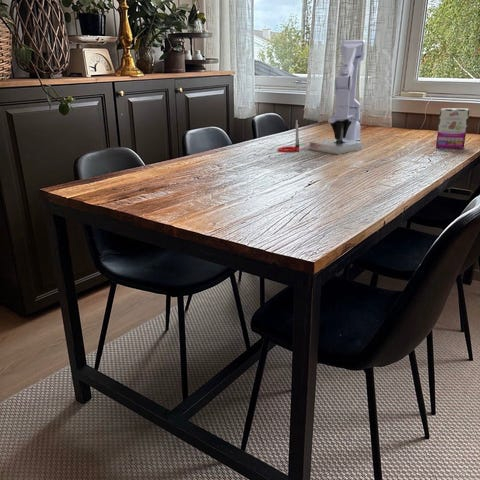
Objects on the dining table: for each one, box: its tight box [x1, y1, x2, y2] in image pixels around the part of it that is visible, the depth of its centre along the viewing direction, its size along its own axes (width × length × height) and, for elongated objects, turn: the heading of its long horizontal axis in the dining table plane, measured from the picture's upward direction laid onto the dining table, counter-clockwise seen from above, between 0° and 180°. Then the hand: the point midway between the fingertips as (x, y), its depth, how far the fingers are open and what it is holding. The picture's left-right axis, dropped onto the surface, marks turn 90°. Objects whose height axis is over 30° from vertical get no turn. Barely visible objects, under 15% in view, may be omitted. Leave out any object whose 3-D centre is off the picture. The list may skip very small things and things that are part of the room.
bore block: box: [309, 137, 363, 155], centre depth 203 cm, size 16×16×3 cm
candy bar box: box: [435, 107, 470, 150], centre depth 199 cm, size 11×5×16 cm, turn 68°
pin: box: [336, 124, 344, 144], centre depth 200 cm, size 3×3×9 cm
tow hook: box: [277, 119, 300, 153], centre depth 201 cm, size 8×13×9 cm
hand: (340, 138), depth 200 cm, fingers closed on pin, 3 cm apart
